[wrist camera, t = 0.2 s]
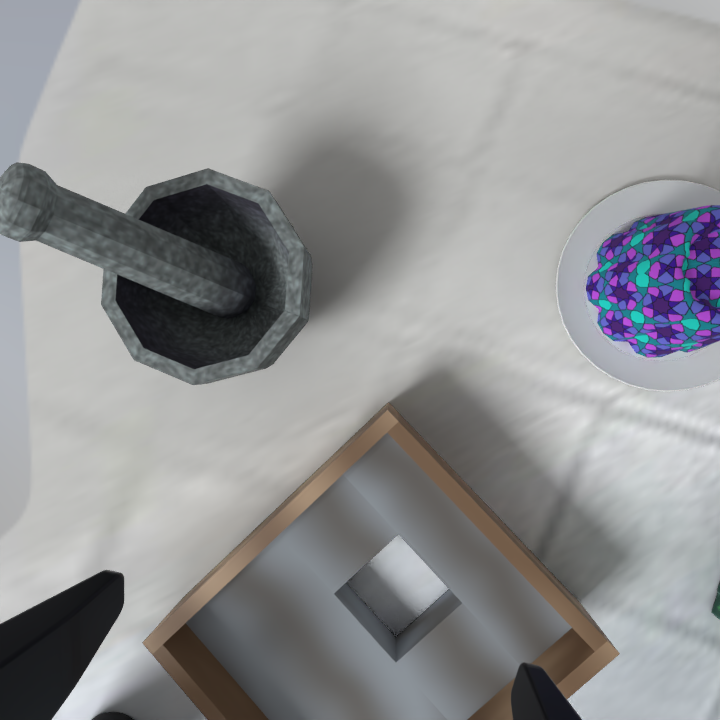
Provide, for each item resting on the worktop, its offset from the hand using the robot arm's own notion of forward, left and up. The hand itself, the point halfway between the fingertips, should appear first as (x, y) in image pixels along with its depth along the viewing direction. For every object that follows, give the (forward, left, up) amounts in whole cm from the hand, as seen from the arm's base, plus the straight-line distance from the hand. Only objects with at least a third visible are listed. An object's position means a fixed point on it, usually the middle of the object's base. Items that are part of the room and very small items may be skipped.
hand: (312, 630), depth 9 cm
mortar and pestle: (+2, +12, -16) cm, 20 cm away
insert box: (-5, -7, -15) cm, 18 cm away
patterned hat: (+20, -4, -16) cm, 26 cm away
